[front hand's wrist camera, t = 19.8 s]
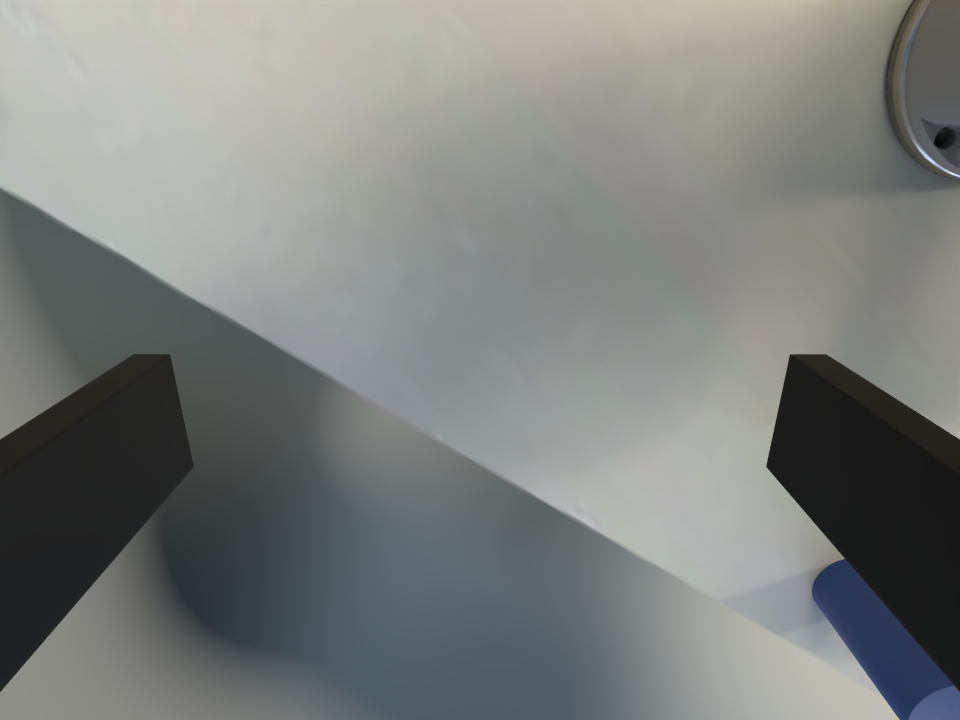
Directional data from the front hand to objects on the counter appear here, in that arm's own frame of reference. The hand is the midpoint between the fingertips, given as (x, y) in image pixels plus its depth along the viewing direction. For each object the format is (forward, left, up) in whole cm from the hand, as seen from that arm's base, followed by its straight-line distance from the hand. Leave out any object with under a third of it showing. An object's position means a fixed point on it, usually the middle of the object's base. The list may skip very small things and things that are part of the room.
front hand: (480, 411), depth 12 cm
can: (-33, +35, -31) cm, 57 cm away
